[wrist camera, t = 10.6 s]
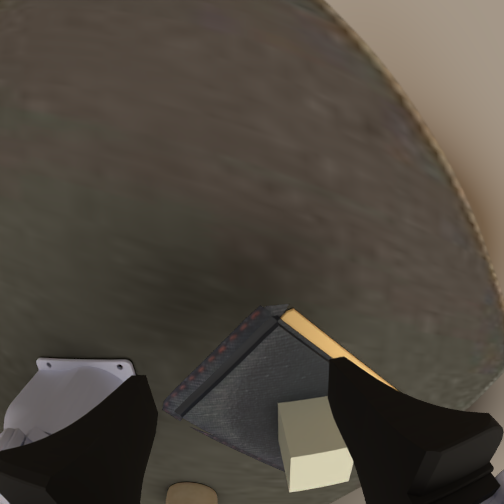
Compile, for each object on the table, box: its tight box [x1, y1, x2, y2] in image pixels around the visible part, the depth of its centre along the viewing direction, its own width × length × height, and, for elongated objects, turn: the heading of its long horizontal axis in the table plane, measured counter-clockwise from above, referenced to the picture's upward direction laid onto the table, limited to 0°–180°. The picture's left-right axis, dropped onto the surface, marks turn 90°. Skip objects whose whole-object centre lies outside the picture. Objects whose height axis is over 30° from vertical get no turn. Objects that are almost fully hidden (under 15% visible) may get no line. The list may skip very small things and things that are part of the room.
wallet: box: [162, 304, 407, 472], centre depth 24 cm, size 20×2×15 cm
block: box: [278, 396, 353, 492], centre depth 20 cm, size 4×4×6 cm
